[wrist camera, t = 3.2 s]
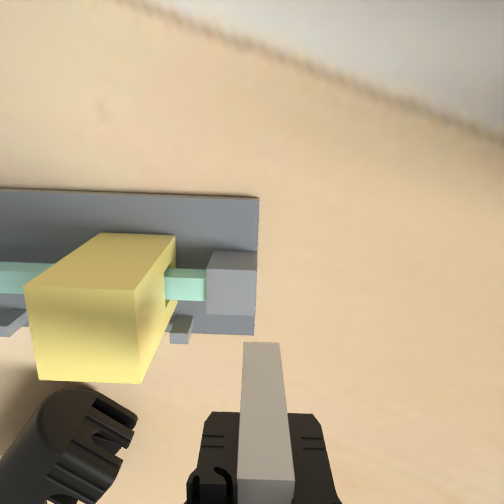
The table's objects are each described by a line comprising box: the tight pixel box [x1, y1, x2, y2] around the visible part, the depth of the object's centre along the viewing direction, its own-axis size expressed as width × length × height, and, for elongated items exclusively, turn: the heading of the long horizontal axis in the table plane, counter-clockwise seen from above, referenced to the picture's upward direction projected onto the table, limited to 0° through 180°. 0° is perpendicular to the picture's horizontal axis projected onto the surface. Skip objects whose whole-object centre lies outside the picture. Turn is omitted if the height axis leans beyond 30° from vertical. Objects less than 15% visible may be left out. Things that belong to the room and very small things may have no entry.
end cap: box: [0, 388, 138, 504], centre depth 29 cm, size 10×7×7 cm
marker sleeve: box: [23, 233, 177, 384], centre depth 22 cm, size 5×5×9 cm
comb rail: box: [0, 188, 259, 344], centre depth 25 cm, size 10×28×5 cm, turn 88°
